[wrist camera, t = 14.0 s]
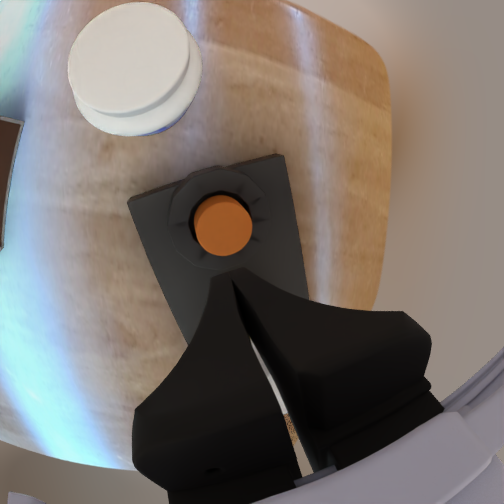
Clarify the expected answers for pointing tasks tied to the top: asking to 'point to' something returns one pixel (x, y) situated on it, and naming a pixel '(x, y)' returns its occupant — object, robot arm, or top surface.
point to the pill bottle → (134, 69)
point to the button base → (208, 265)
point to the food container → (7, 163)
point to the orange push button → (222, 225)
